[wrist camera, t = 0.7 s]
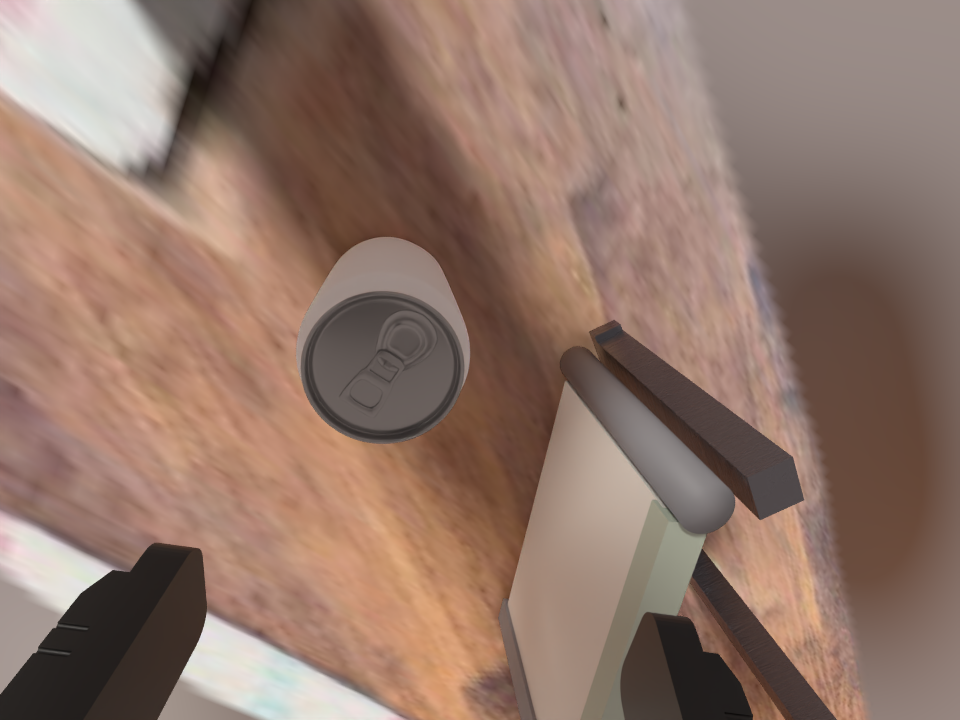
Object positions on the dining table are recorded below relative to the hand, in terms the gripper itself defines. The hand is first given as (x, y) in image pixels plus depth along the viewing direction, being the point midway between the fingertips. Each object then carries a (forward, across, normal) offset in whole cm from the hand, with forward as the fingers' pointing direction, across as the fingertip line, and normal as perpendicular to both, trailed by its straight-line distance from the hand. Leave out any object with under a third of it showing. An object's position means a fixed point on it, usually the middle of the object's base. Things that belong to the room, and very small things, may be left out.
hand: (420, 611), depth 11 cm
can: (+22, +4, +3) cm, 23 cm away
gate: (+21, -7, +14) cm, 26 cm away
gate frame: (+23, -13, +12) cm, 29 cm away
